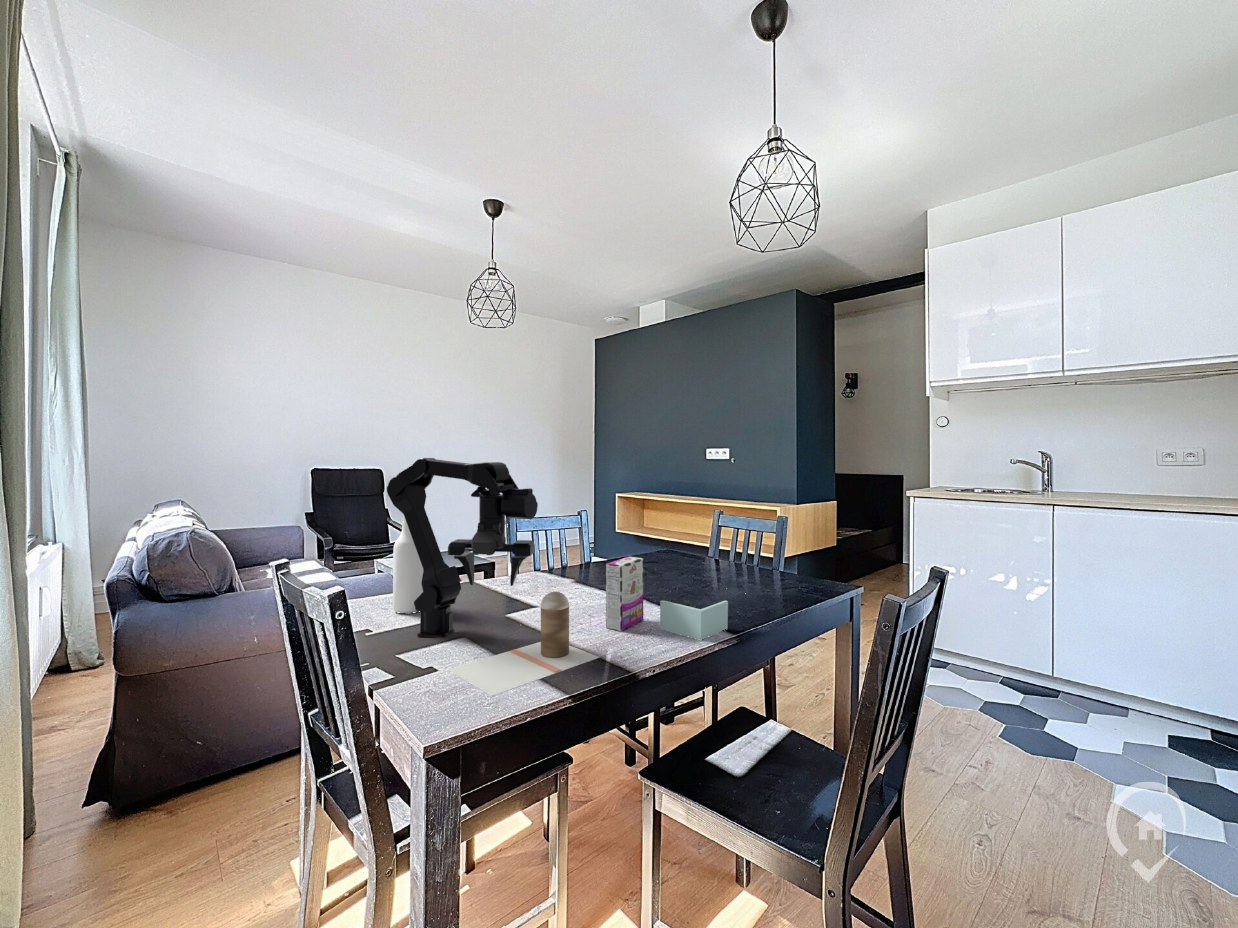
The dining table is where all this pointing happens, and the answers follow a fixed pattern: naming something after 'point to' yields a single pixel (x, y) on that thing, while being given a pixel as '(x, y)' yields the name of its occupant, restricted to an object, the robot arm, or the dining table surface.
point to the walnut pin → (554, 625)
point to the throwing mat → (517, 668)
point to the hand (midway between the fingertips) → (491, 585)
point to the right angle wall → (693, 619)
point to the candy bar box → (624, 593)
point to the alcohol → (406, 572)
